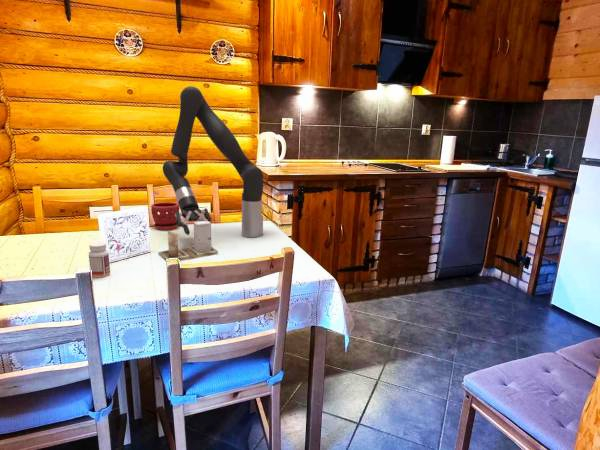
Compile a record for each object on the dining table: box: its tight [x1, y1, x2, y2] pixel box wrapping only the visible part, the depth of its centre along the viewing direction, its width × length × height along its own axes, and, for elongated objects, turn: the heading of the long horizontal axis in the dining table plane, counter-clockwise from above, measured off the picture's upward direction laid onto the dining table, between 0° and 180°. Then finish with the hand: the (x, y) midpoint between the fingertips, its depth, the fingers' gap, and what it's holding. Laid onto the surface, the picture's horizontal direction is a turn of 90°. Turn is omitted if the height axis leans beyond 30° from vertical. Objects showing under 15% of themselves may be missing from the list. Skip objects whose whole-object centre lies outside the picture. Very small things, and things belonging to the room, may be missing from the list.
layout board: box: [157, 245, 219, 262], centre depth 163 cm, size 21×13×2 cm, turn 127°
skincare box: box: [193, 221, 212, 253], centre depth 166 cm, size 6×4×12 cm
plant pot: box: [150, 201, 180, 231], centre depth 201 cm, size 13×13×12 cm
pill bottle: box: [88, 241, 111, 279], centre depth 141 cm, size 6×6×11 cm
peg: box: [167, 229, 179, 258], centre depth 159 cm, size 4×4×10 cm
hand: (198, 232), depth 168 cm, fingers open, 8 cm apart
